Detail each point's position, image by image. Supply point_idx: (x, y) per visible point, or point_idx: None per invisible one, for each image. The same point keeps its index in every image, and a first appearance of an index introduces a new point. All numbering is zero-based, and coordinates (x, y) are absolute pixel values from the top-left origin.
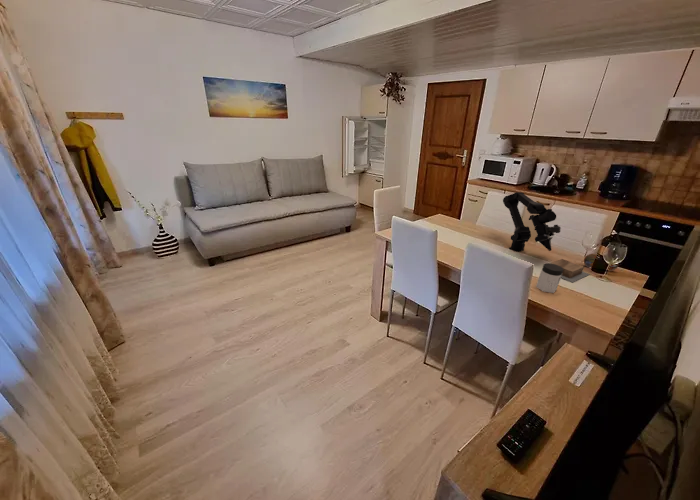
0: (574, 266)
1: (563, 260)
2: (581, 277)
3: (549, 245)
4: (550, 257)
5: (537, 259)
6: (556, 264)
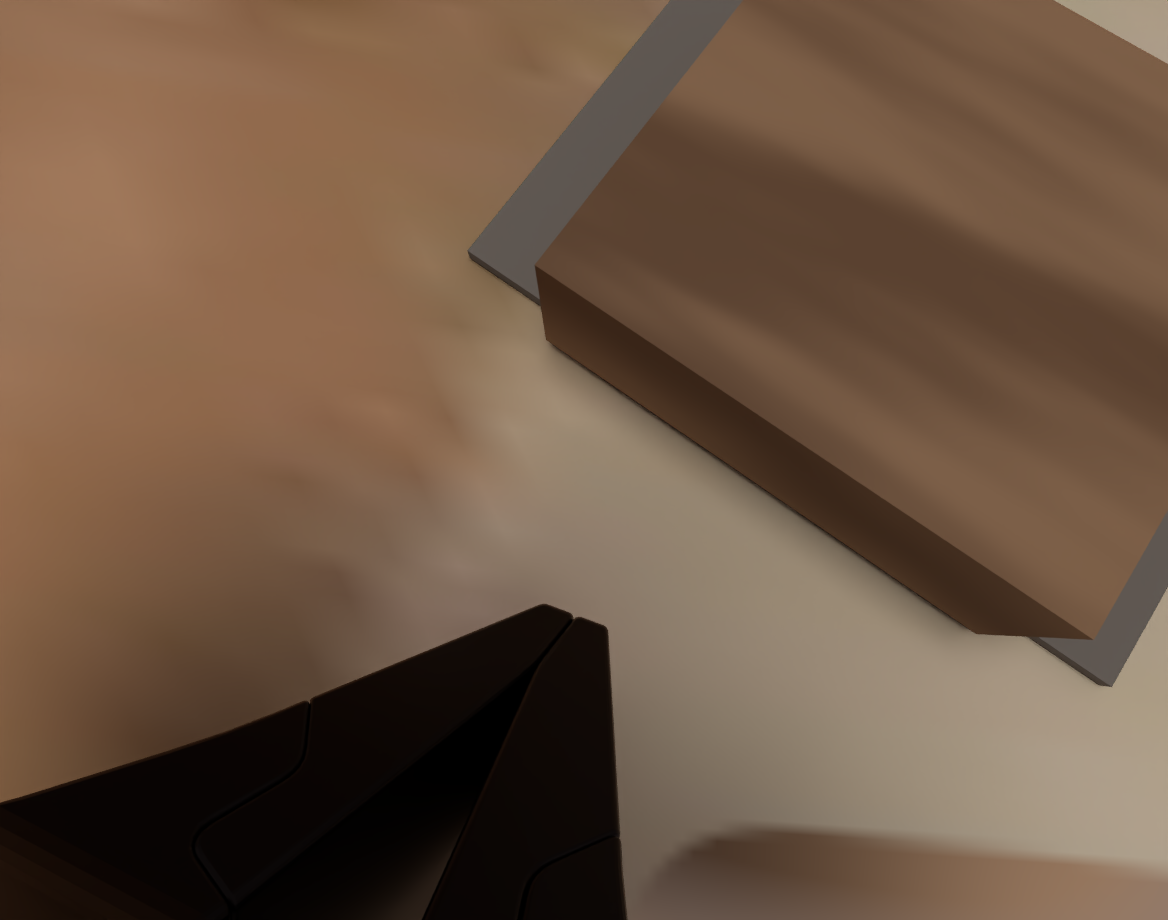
0: (946, 69)
1: (647, 253)
2: None
3: (611, 837)
4: (104, 469)
5: None
6: (1089, 484)
